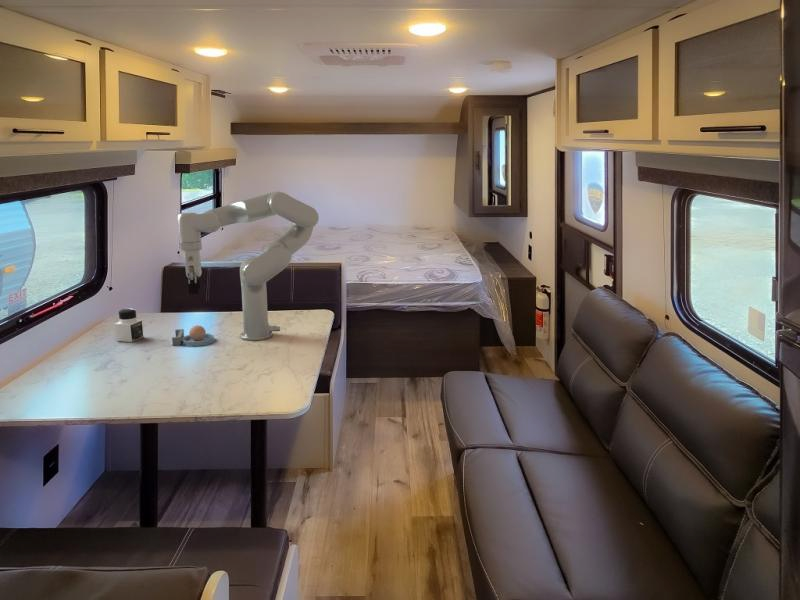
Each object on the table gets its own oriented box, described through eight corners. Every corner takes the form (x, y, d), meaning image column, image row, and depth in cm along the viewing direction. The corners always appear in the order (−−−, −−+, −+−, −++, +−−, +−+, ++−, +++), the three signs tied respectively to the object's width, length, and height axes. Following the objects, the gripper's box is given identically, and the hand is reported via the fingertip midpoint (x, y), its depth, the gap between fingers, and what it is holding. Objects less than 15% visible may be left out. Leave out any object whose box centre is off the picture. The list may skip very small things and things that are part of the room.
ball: (206, 338, 230) (205, 323, 228) (205, 342, 224) (204, 327, 223) (190, 339, 228) (189, 324, 227) (189, 343, 222) (187, 328, 221)
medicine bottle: (132, 342, 225) (129, 312, 222) (116, 341, 226) (112, 311, 224) (143, 337, 232) (141, 307, 229) (127, 336, 233) (124, 306, 230)
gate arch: (184, 336, 233) (183, 329, 233) (181, 345, 222) (180, 337, 221) (176, 336, 232) (175, 329, 232) (172, 345, 221) (172, 338, 220)
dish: (215, 336, 233) (214, 332, 233) (213, 345, 222) (213, 340, 222) (183, 338, 230) (182, 334, 230) (180, 347, 219) (179, 343, 219)
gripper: (199, 248, 211) (203, 295, 214) (203, 243, 227) (206, 286, 231) (177, 249, 209) (181, 296, 213) (182, 243, 225) (186, 287, 229)
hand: (194, 291), depth 222 cm, fingers open, 9 cm apart
